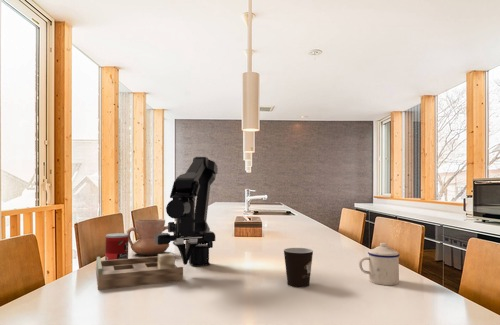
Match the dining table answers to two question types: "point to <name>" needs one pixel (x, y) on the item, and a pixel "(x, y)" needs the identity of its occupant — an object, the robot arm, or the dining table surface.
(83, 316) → the dining table surface
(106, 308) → the dining table surface
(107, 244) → the canned food
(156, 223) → the ceramic jug
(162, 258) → the maple block
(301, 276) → the coffee mug
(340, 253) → the dining table surface
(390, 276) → the teacup with lid
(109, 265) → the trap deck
